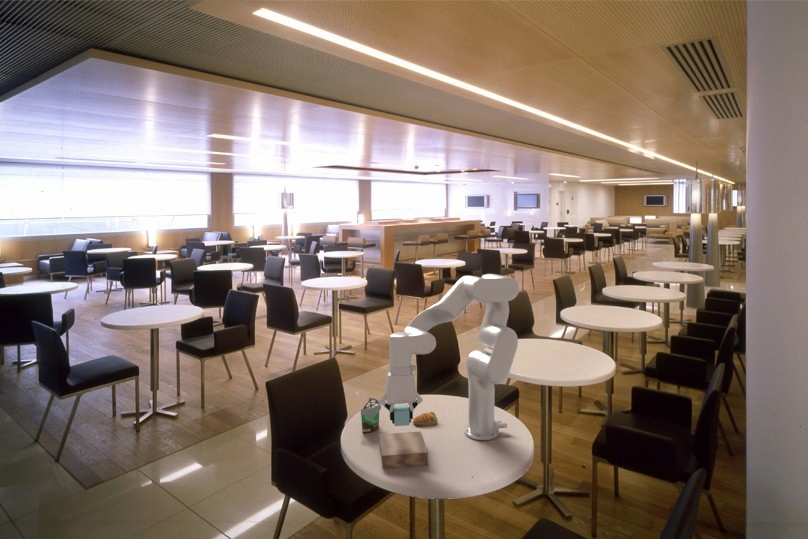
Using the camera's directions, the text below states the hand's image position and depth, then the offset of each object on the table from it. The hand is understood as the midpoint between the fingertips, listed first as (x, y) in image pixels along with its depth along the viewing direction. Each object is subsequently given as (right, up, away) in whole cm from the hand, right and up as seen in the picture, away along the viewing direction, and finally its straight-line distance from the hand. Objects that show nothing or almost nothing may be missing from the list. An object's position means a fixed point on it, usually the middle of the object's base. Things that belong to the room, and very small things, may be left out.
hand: (401, 420), depth 162 cm
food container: (-11, -10, +22) cm, 27 cm away
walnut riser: (0, -12, +2) cm, 13 cm away
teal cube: (0, -1, 0) cm, 1 cm away
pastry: (+10, -9, +27) cm, 30 cm away
